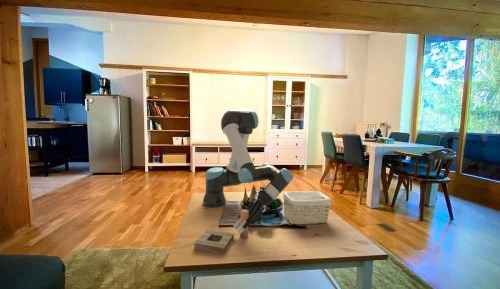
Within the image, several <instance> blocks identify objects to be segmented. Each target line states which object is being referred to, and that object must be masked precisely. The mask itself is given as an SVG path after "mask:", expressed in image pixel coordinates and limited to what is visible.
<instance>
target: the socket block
mask: <svg viewBox="0 0 500 289" xmlns="http://www.w3.org/2000/svg"><path fill="white" fill-rule="evenodd" d="M234 240H235V233H233V232H227V231H222V230H221V231H220V230H214V229H206V230H205V231H204V232H203V233H202V234H201V235H200V236H199V237H198V239H196V240H195V242H194V243H193V245H194V246H193V248H194V249H193V250H195V251H202V252H208V253H213V254H218V255H225V254H226V252H227V250H228V249H229V247H230V246H231V245H232V242H233V241H234Z"/></svg>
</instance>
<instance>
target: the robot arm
mask: <svg viewBox="0 0 500 289" xmlns="http://www.w3.org/2000/svg"><path fill="white" fill-rule="evenodd" d="M258 126H259V117H258V114H257V113H256V111H255V110H252V109H229V110H227V111H226V112H224V114H223V115H222V118H221V121H220V127H221V130H222V132H223V134H224V135H225V136H226V138H227V140H228V142H229V145H230V148H231V150H232V151H231V154H230V161H229V163H227V165H226V168H223V167H220V166H219V167H218V166H217V167H211V168H209V169H207V170H206V171H205V193H204V196H203V198H202V199H203V200H202V205H204V207H208V208H221V207H224V206H225V205H226V204H227V203H226V202H227V199H226V195H225V193H224V189H225V188H226V187H233V186H239V185H242V184H251V183H255V182H256V183H257V182H263V181H269V183H268V184H267V185H266V186H265V187H264V189H263V190H261V191H260V192H259V193H258V198H257V199H255V198H253V199H252V200H251V202H250V203H249V204H248V205H247V206H246V207H245V209H244V210H248V211H249V218H248V219H246V220H245V221H244V222H243V223H242V224H241V226H240V218H239V219H238V220H237V222H236V223H235V224H234V225H233V228H235V229H236V232H237V233H238V235H240V234H241V233H242V232H243V231H244V230H245V229H246V228H247V227H248V228H249V226H250V225H252V226H253V225H254V224H256V222H257V221H258V220H259V219H260V218H261V217H262V216H263V215H264V214H265V213H266V212H267V211H268V210H267V208H266V207H267V205H268V206H270V205H272V203H273V202H274V200H276V198H278V197H279V195H280V194H281V193H282V192H283V191H284V190H285V189H286V188H287V187H288V186H289V184H290V183H291V182H292V180H294V175H293V174H292V172H291V171H289V170H288V169H287V168H284V167H283V168H281V169H279V168H277V167H275V166H274V165H273V164H271V163H269V162H265V163H263V164H261V165H260V166H255V164H254V161H253V159H252V158H251V157H252V156H250V153H249V151H248V148H247V146H248V141H249V137H250V135H251V134H253V130H255V129H257V128H258Z"/></svg>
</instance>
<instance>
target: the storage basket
mask: <svg viewBox="0 0 500 289" xmlns="http://www.w3.org/2000/svg"><path fill="white" fill-rule="evenodd" d="M282 197H283V215H284V217H285V218H286V219H287V221H288V220H289V223H290V225H292V224H297V225H310V224H311V225H315V224H326V223H328V220H329V216H330V215H329V214H330V208H331V205H332V198H330V197H329V196H328V195H327V194H324V193H323V192H321V191H317V190H311V191H310V190H306V191H305V190H304V191H286V192H285V191H284V192H283V196H282Z"/></svg>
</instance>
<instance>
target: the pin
mask: <svg viewBox="0 0 500 289" xmlns="http://www.w3.org/2000/svg"><path fill="white" fill-rule="evenodd" d="M249 217H250V216H249V211H248V210H245V209H241V210H240V217H239V219H240V226H241V224H242V223H243V222H244V221H245V220H246V219H248V218H249ZM248 236H249V226H248V227H247V228H246V229H245V230H244V231H243V232H242V233H241V234H239V237H240V238H241V239H246V238H248Z"/></svg>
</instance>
